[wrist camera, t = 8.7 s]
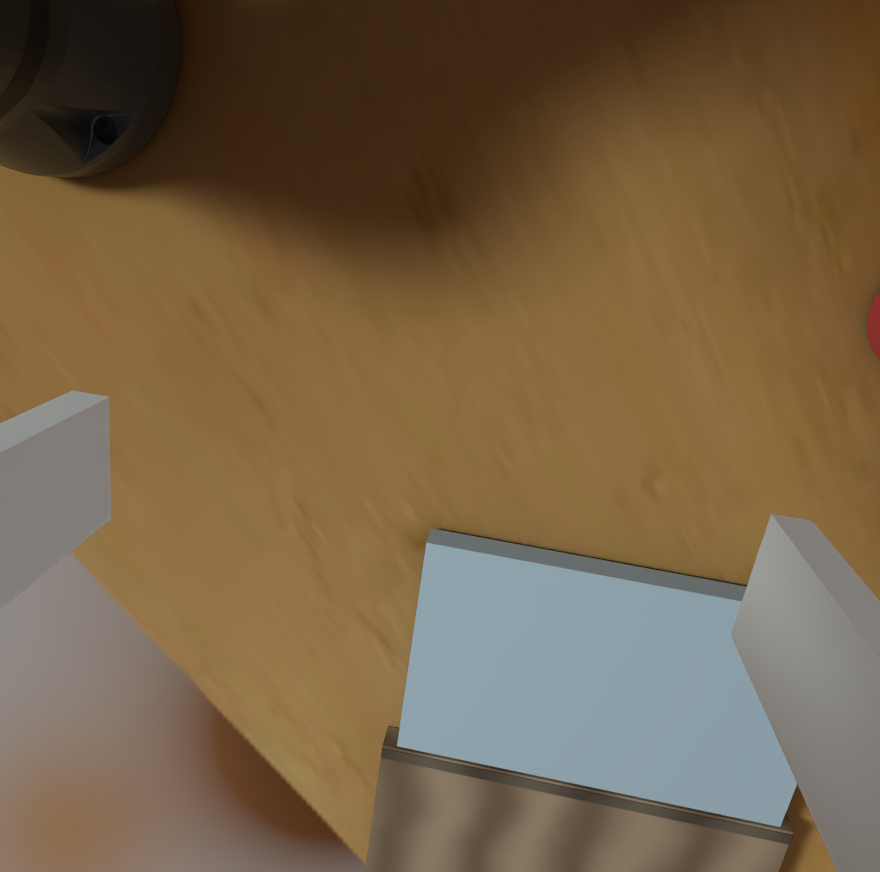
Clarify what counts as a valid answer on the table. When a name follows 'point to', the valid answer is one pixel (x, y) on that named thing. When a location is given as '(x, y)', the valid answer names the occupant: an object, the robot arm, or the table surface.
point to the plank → (589, 677)
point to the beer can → (874, 325)
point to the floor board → (545, 824)
